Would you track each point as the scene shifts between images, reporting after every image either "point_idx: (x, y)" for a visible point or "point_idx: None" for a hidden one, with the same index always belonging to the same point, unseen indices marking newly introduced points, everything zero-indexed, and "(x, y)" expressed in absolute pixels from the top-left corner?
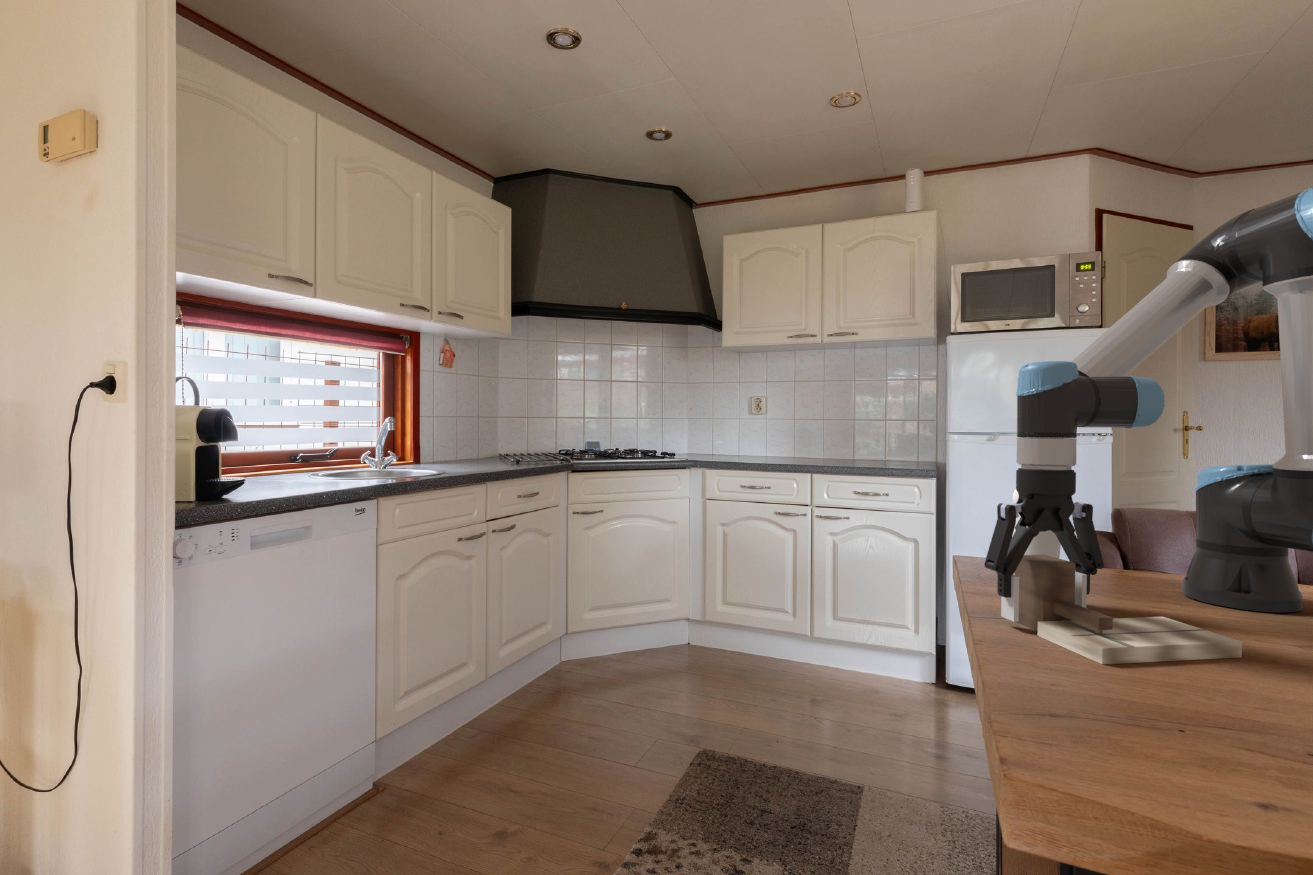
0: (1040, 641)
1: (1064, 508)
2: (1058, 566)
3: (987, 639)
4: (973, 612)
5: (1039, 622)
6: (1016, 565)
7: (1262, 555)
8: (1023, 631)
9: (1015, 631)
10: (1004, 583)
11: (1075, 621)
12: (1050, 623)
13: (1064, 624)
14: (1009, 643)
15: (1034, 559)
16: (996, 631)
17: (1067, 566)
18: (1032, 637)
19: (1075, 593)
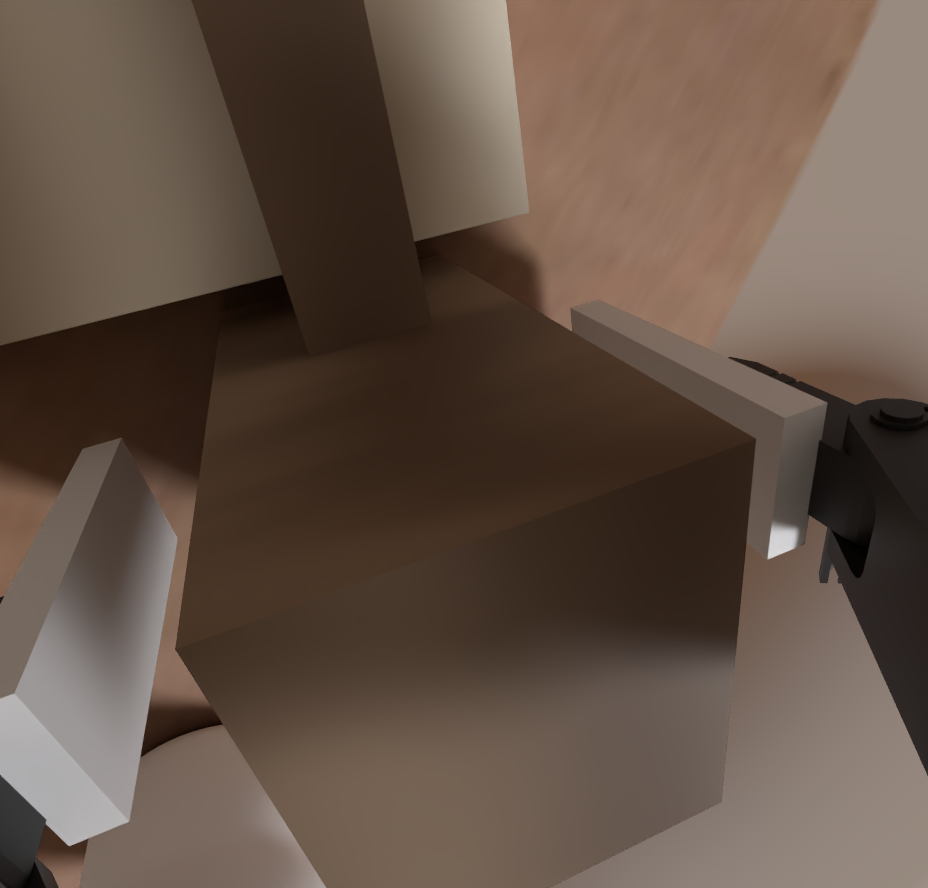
0: (533, 83)
1: None
2: (498, 495)
3: (783, 110)
4: None
5: (525, 194)
6: (908, 473)
7: None
8: (525, 285)
9: (567, 279)
10: (820, 392)
11: (249, 247)
12: (466, 171)
13: None
14: (722, 33)
15: (663, 691)
16: (660, 265)
17: (337, 548)
18: (536, 168)
19: (117, 592)
